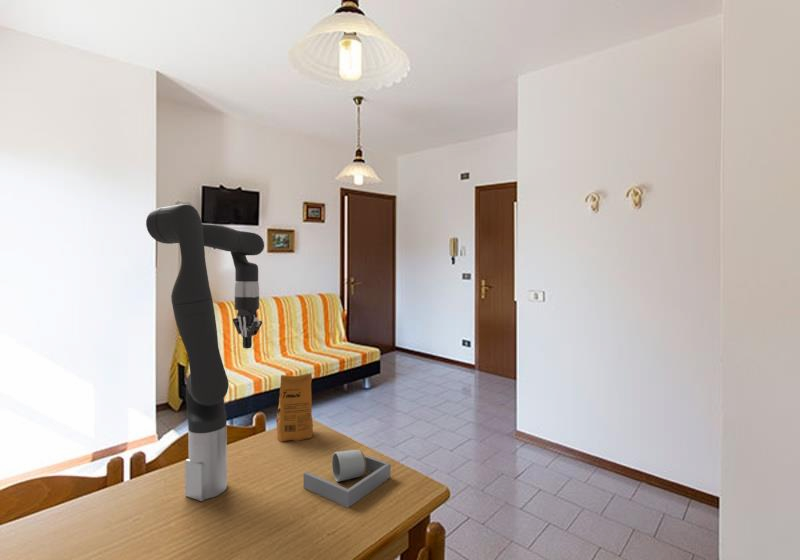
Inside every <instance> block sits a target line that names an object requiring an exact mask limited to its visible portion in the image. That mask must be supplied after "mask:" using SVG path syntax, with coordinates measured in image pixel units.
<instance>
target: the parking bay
mask: <svg viewBox="0 0 800 560" xmlns="http://www.w3.org/2000/svg"><path fill="white" fill-rule="evenodd" d="M350 450H351V449H350V448H348V449H346V450H345V451H350ZM364 456H365V460H366V470H365V472H368V473H370V474H369V475H367V476H365V477H364V478H363V479H361V480H359V481H358V482H356V483H355V484H353V485H351V486H350V487H349V488H346V487H344V486H341V485H339V484H337V483H334V482H332V481H329V480H327V479H325V478H323V477H321V476H318V475H315V474H313V473H310V472H308V471H305V472H303V489H306V490H308V491H310V492H312V493H314V494H316V495H319V496H321V497H323V498H326V499H327V500H330V501H332V502H333V503H336V504H338V505H341V506H343V507H345V508H347V509H348V508H350V507H351V506H352V505H354V504H355V503H357V502H359V501H360V500H362V498H364V497H366V496H367V495H368V494H370V493H372V491H374V490H375V489H376V488H378V487H379V486H381V485H382V484H383V482H384V483H385V482H386V481H388V480H389V479H390V478H391V466H392V465H391V463H389V462H387V461H384V460H381V459H378V458H375V457H372V456H370V455H366V454H364ZM389 477H390V478H389ZM388 478H389V479H388ZM387 479H388V480H387Z"/></svg>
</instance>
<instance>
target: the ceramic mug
mask: <svg viewBox="0 0 800 560" xmlns="http://www.w3.org/2000/svg"><path fill="white" fill-rule="evenodd" d="M349 450H350V451H346V450H342V451H335V452H333V454H332V457H331V458H332V459H331V467H332V475H333V478H334V480H335V482H337V483H338V482H342V481H347V480H351V479H355V478H359V477H362V476H363V475H365V473H366V471H365V470H366V460H365V456H364V455H365V454H364V452H363V451H362V450H361V449H349Z"/></svg>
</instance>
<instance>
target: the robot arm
mask: <svg viewBox="0 0 800 560" xmlns="http://www.w3.org/2000/svg"><path fill="white" fill-rule="evenodd" d="M145 222H146V223H145V225H146V229H147V233H148V234H149V236H150V237H152V238H153V240H155V241H157V242H158V243H161V244H166V245H169V244H171V245H172V244H179V250H180V251H179V252H180V268H179V270H178V272H177V273H178V274H177V276H176V279H175V281H174V285H173V288H172V292H171V295H170V297H171V299H170V300H171V305H172V306H171V307H172V312H173V315H174V320H175V324H176V327H177V331H178V333H179V336H180V339H181V341H182V344H183V346H184V349H185V353H186V355H187V359H188V360H187V361H188V365H189V374H188V376H187V379H186V385H185V387H186V389H185V390H186V391H185V392H186V393H185V395H186V398H185V399H186V415H187V416H186V417H187V426H188V428H187V431H188V433H187V434H188V435H187V436H188V441H187V442H188V443H187V444H188V446H187V447H188V448H187V449H188V458H187V459H185V461H184V470H185V471H184V473H185V474H184V477H185V478H184V479H185V482H184V484H185V485H184V487H185V488H184V489H185V493H184V495H185V497H187V498H190V499H194V500H196V501H199V502H203V501H205V500H208V499H212V498H214V497H217V496H220V495H221V494H222V493H224V492H225V491H226V490H227V488H228V460H227V459H228V453H227V452H228V451H227V450H228V449H227V448H228V447H227V446H228V445H227V444H228V443H227V442H228V441H227V440H228V432H227V430H228V426H227V423H228V422H227V421H228V420H227V419H228V418H227V410H226V407H225V397H226V395H227V393H228V390H229V379H228V376H227V372H226V370H225V367H224V364H223V360H222V357H221V356H222V355H221V353H220V348H219V340H218V339H219V338H218V337H219V336H218V329H217V328H218V327H217V320H216V313H215V308H214V307H215V306H214V302H213V297H212V296H213V295H212V291H211V288H210V281H209V275H208V270H207V263H206V252H205V247H208V248H213V249H217V250H221V251H225V252H230V255H231V257H232V258H231V259H232V261H233V265H234V268H235V269H234V270H235V273H234V274H235V277H234V278H235V283H234V309H235V311H237V314H236V317H234V318H232V322H233V325H234V327H235V330H236V331H237V333H238V335H241V337H242V349H247V350H248V349H251V348H252V345H253V343H252V342H253V341H252V340H253V336H256V335H257V334H258V332H259V330H260V328H261V326H262V324H263V321H262V320H259V319H258V313H257V311H258V310H259V309H260V284H259V283H260V282H259V266H258V265H257V264H256V263H253V262H250V261H248V259H247V256H258V255H260V254H261V253H262V252H263V251H264V248H265V242H264V241H265V240H264V239H263V238H262V236H260V235H259V234H257V233H256V232H249V231H244V230H243V231H241V230H237V229H235V228H233V227H228V226H225V225H220V224H215V223H213V224H212V223H203V221H202V219H201V216H200V213H199V211H198V210H197V209H196V208H195V206H194V205H192V204H190V203H182V204H181V203H180V204H175V205H168V206H162V207H158V208H155V209H153V210H152V211H151V212H149V213H148V215H147V217H146V220H145Z"/></svg>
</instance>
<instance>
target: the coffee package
mask: <svg viewBox="0 0 800 560" xmlns="http://www.w3.org/2000/svg"><path fill="white" fill-rule="evenodd" d="M312 381H313V377H312V373H311V372H309V373H305V374H301V375H299V374H298V375H288V374H287V375H286V374H281V375H280V383H279V384H280V385H279V398H278V407H277V411H276V431H277V432H276V435H277V437H276V438H277V440H278V441H279V443H280V442H281V443H282V442H287V441H296V442H300V441H302V440H307V439H311V438H312V437H313V431H314V429H313V427H314V423H313V416H312V413H313V412H312V411H313V410H312V408H313V407H312V406H313V405H312V404H313V403H312V399H313V398H312Z"/></svg>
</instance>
